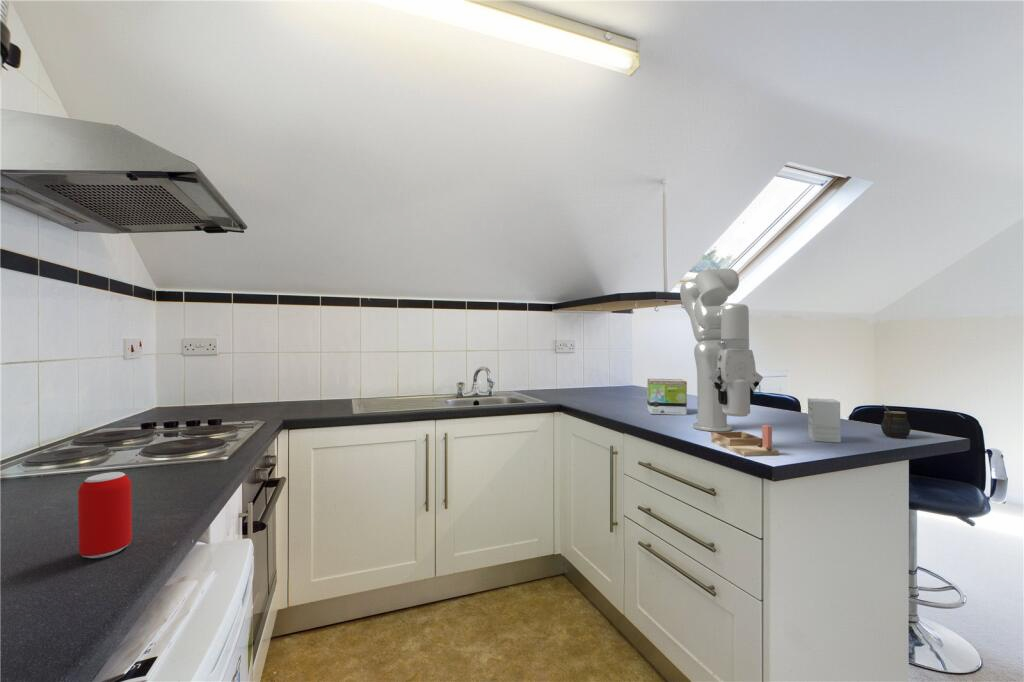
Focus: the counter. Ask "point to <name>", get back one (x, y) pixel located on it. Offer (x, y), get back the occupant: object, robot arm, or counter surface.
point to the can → (737, 398)
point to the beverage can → (104, 514)
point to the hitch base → (742, 443)
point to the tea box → (667, 396)
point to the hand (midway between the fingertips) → (735, 403)
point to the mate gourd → (895, 424)
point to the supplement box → (824, 420)
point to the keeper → (766, 436)
